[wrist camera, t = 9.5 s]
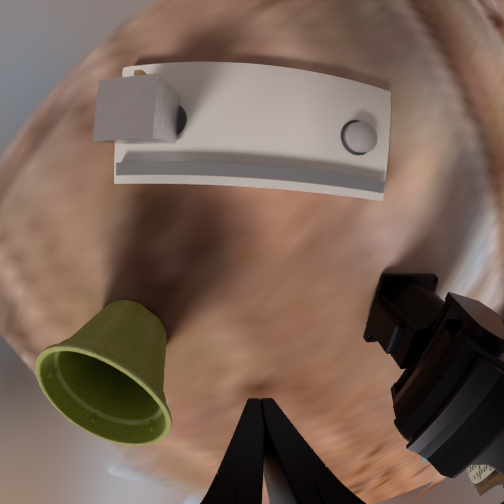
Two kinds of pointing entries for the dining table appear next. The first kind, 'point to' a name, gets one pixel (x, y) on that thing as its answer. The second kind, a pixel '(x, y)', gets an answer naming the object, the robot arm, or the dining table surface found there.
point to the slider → (136, 110)
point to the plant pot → (111, 376)
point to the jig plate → (266, 131)
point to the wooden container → (484, 477)
